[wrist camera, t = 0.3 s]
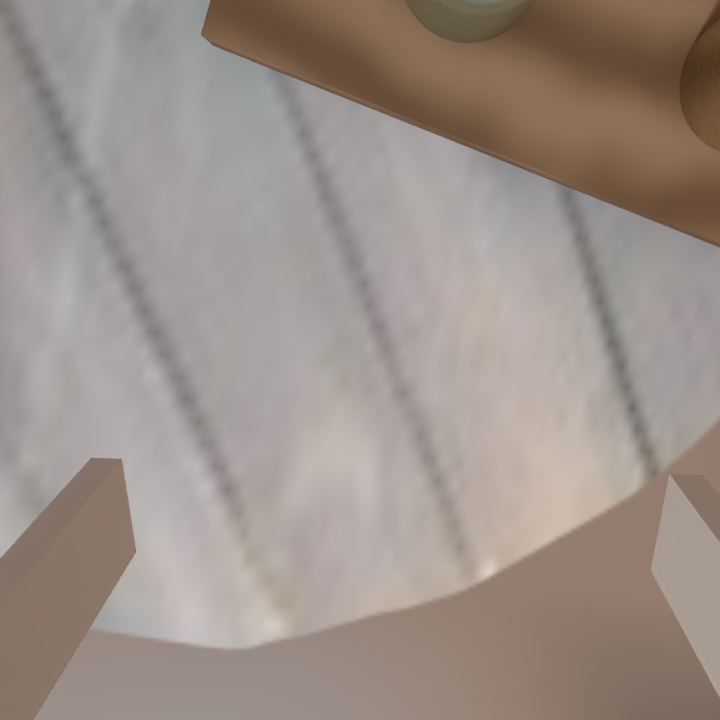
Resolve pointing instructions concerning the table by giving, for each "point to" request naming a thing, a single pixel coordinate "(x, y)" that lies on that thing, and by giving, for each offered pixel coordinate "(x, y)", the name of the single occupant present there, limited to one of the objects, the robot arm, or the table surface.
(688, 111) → the mustard tin
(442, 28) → the green tin
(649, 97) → the wooden tray
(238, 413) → the table surface
